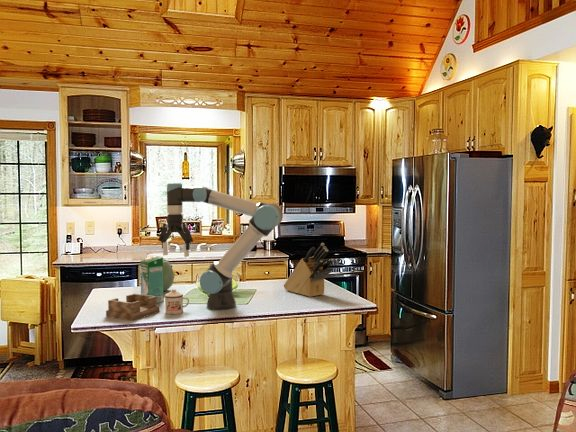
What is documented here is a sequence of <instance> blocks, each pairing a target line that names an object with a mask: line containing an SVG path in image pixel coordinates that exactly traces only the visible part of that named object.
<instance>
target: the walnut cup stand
mask: <svg viewBox="0 0 576 432" xmlns="http://www.w3.org/2000/svg"><path fill="white" fill-rule="evenodd" d="M125 298H126V300H125V301H121V300H119V298H111V299H109V300H107V301H108V302H107V303H108V304H107V305H108V309H107V310H106V311H105V317H106V318H111V317H113V319H118V318H120V319H119V320H125V319H126V320H127V321H136V320H139V319H141V317H142V318H144V316H145V317H148V316H150V315H154V314H158V313H159V312H160V305H158V303H157V296H149V295H141V293H140V294H139V293H132V294H128V295H126V297H125ZM147 315H148V316H147ZM138 318H139V319H138Z"/></svg>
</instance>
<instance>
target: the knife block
mask: <svg viewBox="0 0 576 432" xmlns="http://www.w3.org/2000/svg"><path fill="white" fill-rule="evenodd" d="M313 253H314V254H313ZM328 253H329V249H328V248H327V246H325V243H324V242H321V243H320V245H319V246H318V247H317V249H316V247H315V246H312V247H311V248H310V249H309V250H308V252H307V254H306V256H305V257H303V258H301V259H300V260H299V261H298V263H297V265H296V266H295V268H294V269H293V270H292V272H291V273H290V275H289V277H288V278H287V280H286V281H285V282H284V284H283V288H284V289H285V291H287V292H291V293H296V294H298V295H299V294H300V295H303V296H306V297H308V298H312V297H314V296H319V295H320V296H323V295H324V294H325V278H326V277H328V276H329V274H331V272H333V270H334V269H333V268H332V267H330V266H331V265H332V264H333V262H334V258H330V259H328V258H326V257H327V256H328ZM312 255H313V256H312ZM329 267H330V268H329Z"/></svg>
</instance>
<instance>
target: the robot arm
mask: <svg viewBox="0 0 576 432" xmlns="http://www.w3.org/2000/svg"><path fill="white" fill-rule="evenodd" d="M166 201H167V203H166V206H167V207H166V212H167V217H166V219H167V222H164V223H163V224H162V228H161V232H160V234H159V238H158V240H157V241H158V242H161V249H162V256H168V255H169V253H168V251H169V250H168V246H169V245H168V244H169V243H168V239H169V238H170V236H171V235H172V233H178V234H179V236H180V237H181V239H182V240H183V242H184V243H183V247H184V248H183V250H184V253H183V255H184V257H185V258H186V257H190V249H191V243H193V242H194V239H193V237H192V234H191V232H190V230H189V225H188V223H187V222H186V223H183V220H184V219H183V218H184V215H183V210H184V209H183V203H206V204H210V205H212V206H216V207H219V208H222V209H226V210H228V211H232V212H235V213H238V214H242V215H245V216H248V217H251V218H250V219H249V220H248V226H247V227H246V229H245V230H244V231H243V232H242V233H241V234H240V236H239V237H238V238H237V239H236V241H235V242H234V243H233V244H232V245H231V246H230V247H229V249H228V250H227V251H226V252H225V253H224V254H223V256H221V258H220V259H219V260H218V261H213V263H210V264H209V268H207V270H206V271H204V272H202V274H201V275H200V277H199V285H200V286H199V287H200V288H201V290H202V291H204V292H205V293H206V294H209V296H208V299H207V302H206V308H207V309H208V310H213V311H217V310H218V311H223V310H230V309H234V308H235V307H236V306H237V303H236V302H237V301H236V300H235V296H234V293H233V272H234V270H236V268H237V267H238V266H239V265H240V264H241V263H242V261H243V260H244V259H245V258H246V256H247V255H248V254H249V253H250V252H251V251H252V250H253V249H254V248H255V246H256V245H257V244H259V241H260V240H261V239H262V238H264V237H268V236H269V235H270V234H271V232H272V231H273V230H274V229H275V228H276V227H277V226H279V225H280V224H281V222H282V221H283V217H284V216H283V211H282V209H281V208H280V207H279V206H278V205H276V204H271V203H265V202H261V201H260V202H258V203H257V202H254V201H252V200H249V199H244V198H241V197H237V196H234V195H231V194H227V193H224V192H220V191H217V190H215V189H211V188H208V187H206V186H183V184H182V183H181V182H170V183H167V185H166Z"/></svg>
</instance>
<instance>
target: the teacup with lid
mask: <svg viewBox="0 0 576 432" xmlns="http://www.w3.org/2000/svg"><path fill="white" fill-rule="evenodd" d="M183 296H184V294H183V293H182V292H180V291H177V290H176V289H175V288H173V289H171V291H169V292H167V293H166V294H165V293H164V299H165V301H164V303H165V305H164V306H165V307H164V308H165V311H164V312H165V313H166V314H167V315H179V314H182V313H183V312H184V308H186V307H188V306H189V303H190V299H189V298H188V297H186V296H184V297H183ZM183 300H187V303H186V304H185V305H184V301H183Z"/></svg>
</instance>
